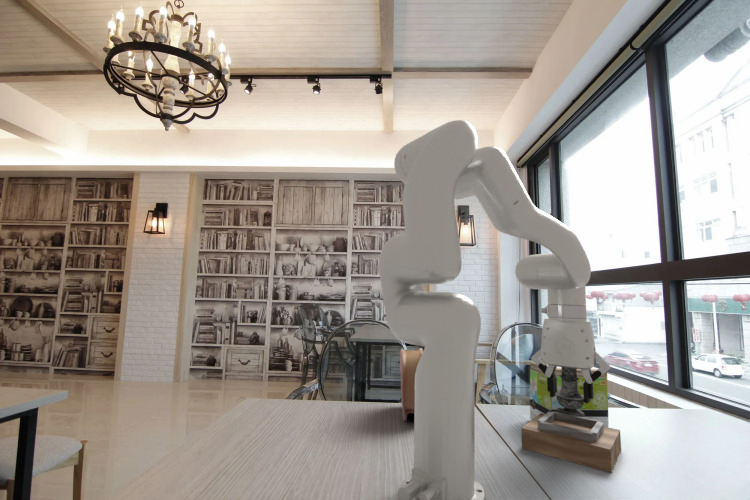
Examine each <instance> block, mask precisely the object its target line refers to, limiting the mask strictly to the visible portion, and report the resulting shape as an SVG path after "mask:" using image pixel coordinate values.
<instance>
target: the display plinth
mask: <svg viewBox="0 0 750 500" xmlns="http://www.w3.org/2000/svg"><path fill="white" fill-rule="evenodd" d="M621 439H622V438H621V430H620V429H617V428H612V427H609V426H608V427H604V423H602V422H601V421H600V420H595V419H590V418H585V417H572V416H566V415H563V414H560V413H558V412H555V411H552V412H548V413H546V414H542V413H540V414H539V415H538V416H537V417H535V418H534V419H533V420H532V419H531V420H530V421H529V422H528V423H526V424H525V425H523V426H522V427H521V449H524V450H527V451H531V452H535V453H539V454H542V455H547V456H549V457H553V458H557V459H561V460H564V461H567V462H571V463H575V464H579V465H582V466H586V467H589V468H593V469H596V470H599V471H603V472H607V473H611V474H612V473H613V471H612V470H614V469H615V466H614V465H616V463H617V461H618V459H617V458H619V456H620V453H621V451H622V443H621V442H622V441H621Z"/></svg>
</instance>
